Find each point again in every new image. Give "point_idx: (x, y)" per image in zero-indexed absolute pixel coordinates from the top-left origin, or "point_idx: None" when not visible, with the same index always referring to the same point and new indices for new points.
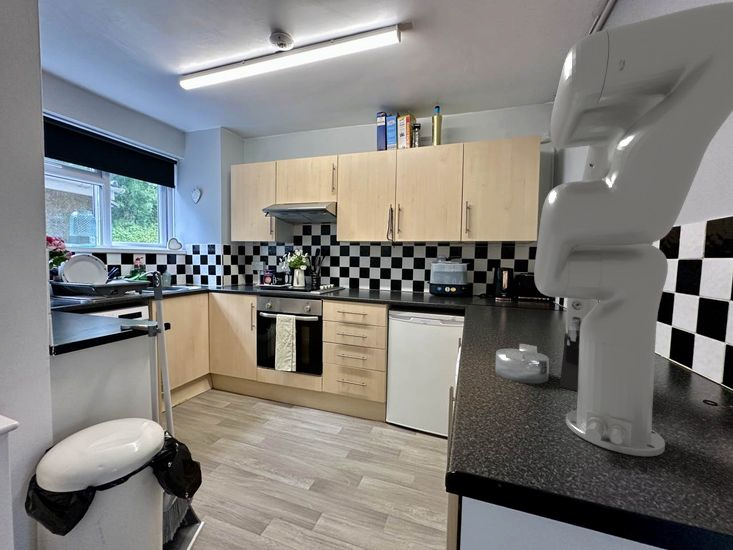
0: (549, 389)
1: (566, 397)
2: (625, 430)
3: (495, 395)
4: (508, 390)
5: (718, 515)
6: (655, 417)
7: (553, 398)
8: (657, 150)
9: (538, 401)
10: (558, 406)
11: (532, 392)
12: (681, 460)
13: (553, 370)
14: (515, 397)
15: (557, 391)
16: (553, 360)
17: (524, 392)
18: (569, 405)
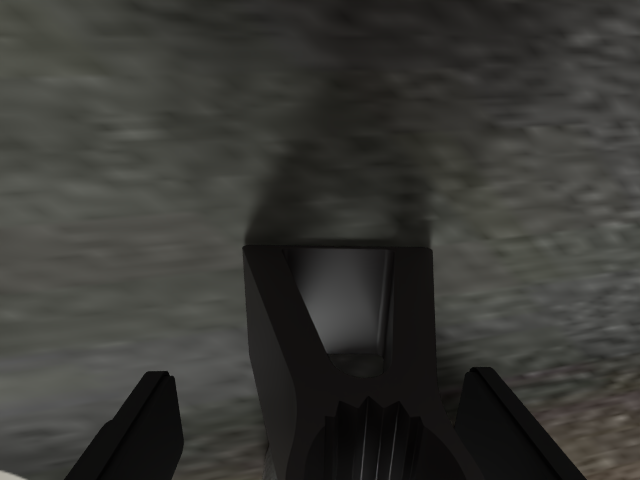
0: (464, 369)
1: (516, 312)
2: None
3: (632, 462)
4: (563, 451)
5: None
6: (545, 2)
7: (556, 342)
8: None
9: (615, 369)
10: (629, 316)
11: (535, 400)
12: None
13: (195, 405)
14: (617, 423)
15: (467, 346)
16: (29, 434)
17: (552, 416)
18: (598, 291)
